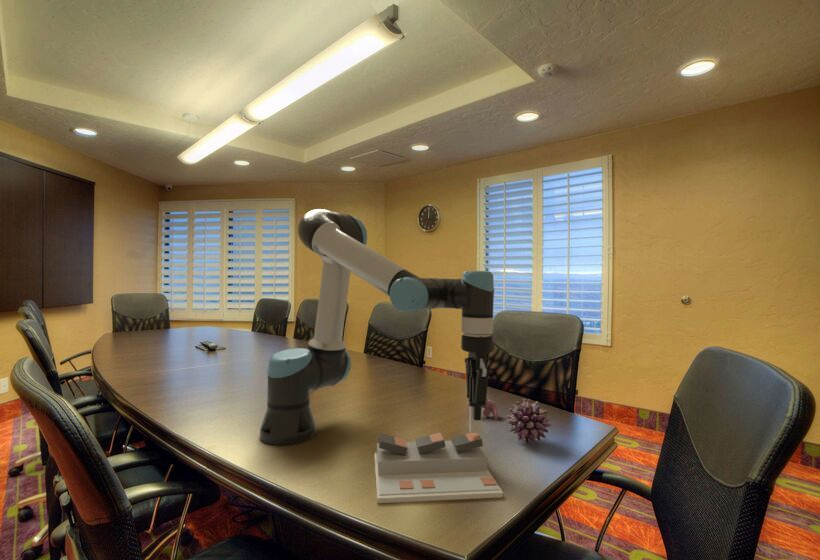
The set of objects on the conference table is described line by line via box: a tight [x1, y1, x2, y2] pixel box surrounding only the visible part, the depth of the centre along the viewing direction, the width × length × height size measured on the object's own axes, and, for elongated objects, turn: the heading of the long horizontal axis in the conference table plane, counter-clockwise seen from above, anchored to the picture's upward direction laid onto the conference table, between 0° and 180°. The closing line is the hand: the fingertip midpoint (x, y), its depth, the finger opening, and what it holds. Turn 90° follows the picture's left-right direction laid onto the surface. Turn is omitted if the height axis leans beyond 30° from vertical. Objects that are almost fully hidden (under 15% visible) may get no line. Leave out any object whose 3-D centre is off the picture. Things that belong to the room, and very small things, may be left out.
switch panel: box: [374, 440, 504, 504], centre depth 89 cm, size 26×20×4 cm
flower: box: [506, 398, 552, 445], centre depth 108 cm, size 12×12×12 cm
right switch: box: [450, 432, 484, 452], centre depth 94 cm, size 6×5×2 cm
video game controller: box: [466, 398, 499, 421], centre depth 127 cm, size 10×5×7 cm, turn 93°
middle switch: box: [414, 432, 446, 454], centre depth 92 cm, size 6×5×2 cm
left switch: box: [377, 432, 408, 455], centre depth 91 cm, size 6×5×2 cm
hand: (475, 431), depth 94 cm, fingers closed
